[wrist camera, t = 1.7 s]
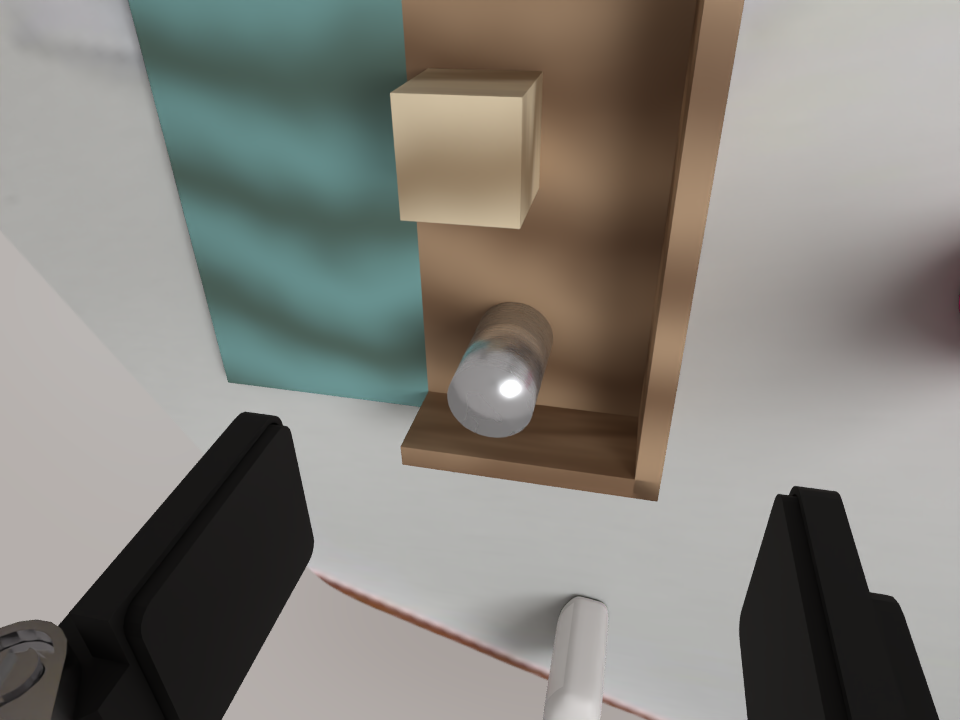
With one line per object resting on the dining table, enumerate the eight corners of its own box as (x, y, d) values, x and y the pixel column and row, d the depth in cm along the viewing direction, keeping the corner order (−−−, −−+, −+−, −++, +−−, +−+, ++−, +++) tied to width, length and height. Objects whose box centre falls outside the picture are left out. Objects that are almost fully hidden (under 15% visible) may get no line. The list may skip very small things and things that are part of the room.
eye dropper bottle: (534, 618, 50) (501, 792, 40) (586, 586, 47) (565, 766, 37) (579, 650, 50) (558, 827, 41) (633, 621, 47) (625, 805, 38)
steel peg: (477, 298, 35) (445, 361, 30) (554, 306, 34) (534, 371, 29) (479, 363, 37) (449, 431, 32) (551, 371, 36) (532, 442, 32)
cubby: (122, -78, 30) (17, -77, 25) (741, -89, 25) (760, -90, 20) (236, 373, 43) (181, 432, 38) (658, 425, 38) (657, 501, 33)
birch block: (428, 68, 30) (389, 92, 25) (542, 71, 29) (522, 97, 24) (434, 181, 32) (400, 220, 28) (539, 188, 31) (520, 229, 27)
